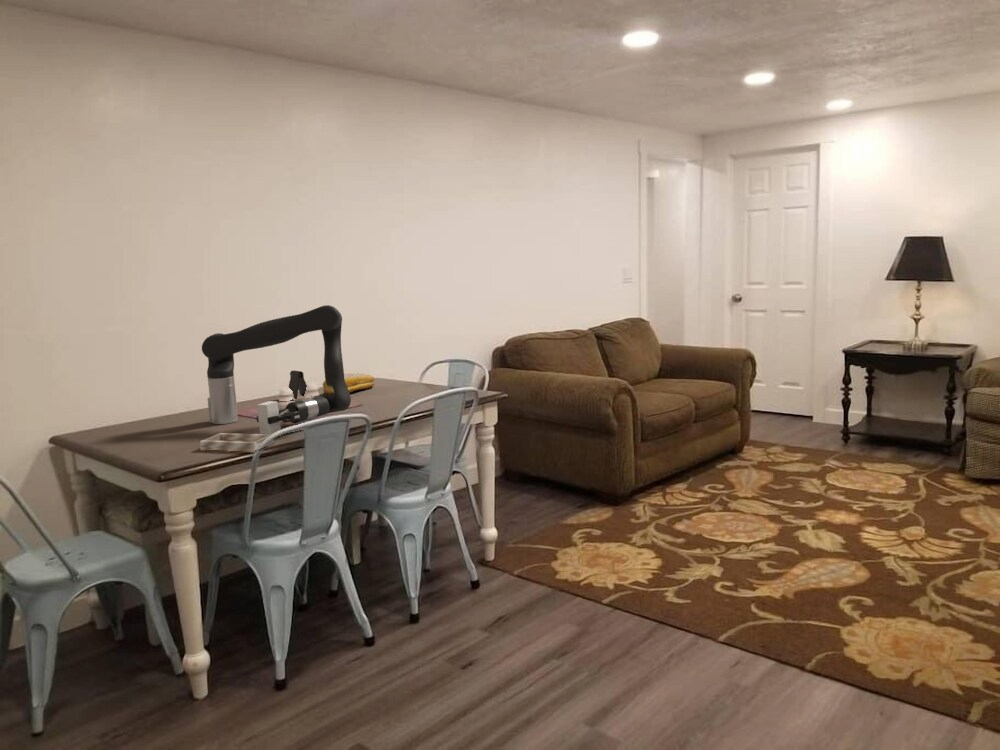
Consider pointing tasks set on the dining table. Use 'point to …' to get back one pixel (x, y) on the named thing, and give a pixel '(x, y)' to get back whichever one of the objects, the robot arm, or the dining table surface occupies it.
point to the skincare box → (264, 413)
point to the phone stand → (297, 383)
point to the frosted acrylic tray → (233, 442)
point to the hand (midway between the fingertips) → (263, 420)
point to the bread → (353, 382)
